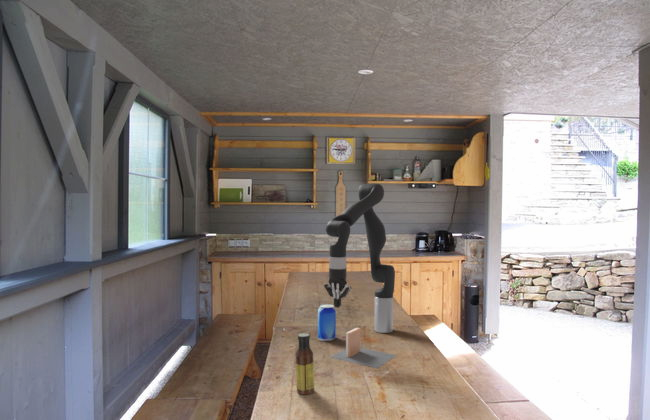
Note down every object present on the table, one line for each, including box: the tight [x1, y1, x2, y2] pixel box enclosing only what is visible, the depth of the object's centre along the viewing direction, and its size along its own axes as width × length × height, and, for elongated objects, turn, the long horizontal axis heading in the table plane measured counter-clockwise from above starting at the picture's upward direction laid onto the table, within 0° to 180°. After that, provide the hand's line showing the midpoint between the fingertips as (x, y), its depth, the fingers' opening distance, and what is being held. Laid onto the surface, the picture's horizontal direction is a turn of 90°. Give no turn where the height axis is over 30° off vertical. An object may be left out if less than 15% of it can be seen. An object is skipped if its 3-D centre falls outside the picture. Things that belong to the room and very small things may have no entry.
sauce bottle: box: [295, 332, 315, 396], centre depth 159 cm, size 7×6×20 cm
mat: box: [329, 347, 398, 369], centre depth 193 cm, size 18×22×1 cm
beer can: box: [317, 303, 337, 342], centre depth 217 cm, size 8×8×16 cm
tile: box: [345, 327, 361, 357], centre depth 196 cm, size 9×2×10 cm, turn 147°
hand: (337, 307), depth 200 cm, fingers closed
